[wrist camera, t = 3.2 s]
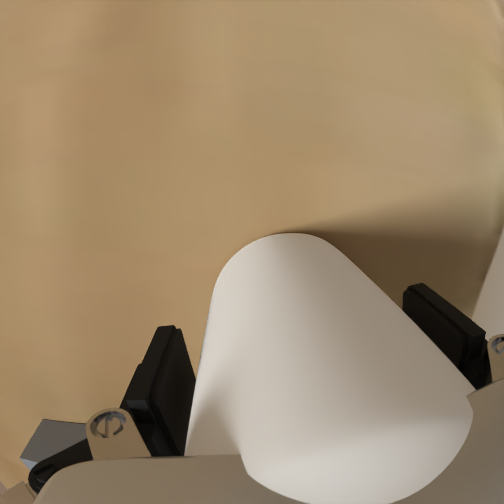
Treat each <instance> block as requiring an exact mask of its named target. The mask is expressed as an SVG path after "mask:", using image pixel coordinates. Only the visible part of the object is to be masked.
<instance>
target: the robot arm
mask: <svg viewBox="0 0 504 504" xmlns="http://www.w3.org/2000/svg"><path fill="white" fill-rule="evenodd" d="M402 311H403V312H404V313H405V314H406V315H407V316H408V317H409V318H410V319H411V320H412V321H413V322H414V323H415V324H416V325H417V326H418V327H419V328H420V329H421V330H422V331H423V332H424V333H425V334H426V335H427V336H428V337H429V338H430V340H431V341H432V342H433V343H434V344H435V345H436V346H437V347H438V348H439V349H440V350H441V351H442V352H443V353H444V354H445V356H446V357H447V358H448V359H449V360H450V361H451V362H452V363H453V364H454V365H455V366H456V368H457V369H458V370H459V371H460V372H461V373H462V374H463V376H464V377H465V378H466V379H467V380H468V381H469V382H470V384H471V385H472V386H473V387H474V388H475V389H476V390H475V391H473V392H471V393H470V394H468V395H467V396H466V397H467V399H468V401H469V403H470V405H471V408H472V410H473V420H472V424H471V427H470V431H469V433H468V435H467V437H466V440H465V442H464V444H463V445H462V447H461V449H460V450H459V452H458V453H457V455H456V456H455V458H454V459H453V460H452V462H451V463H450V464H449V465H448V466H447V467H446V468H445V470H444V471H443V472H442V473H440V474H439V475H438V476H437V477H436V478H435V479H434V480H433V481H432V482H430V483H429V484H428V485H427V486H425V487H424V488H422V489H421V490H419V491H417V492H416V493H414V494H412V495H410V496H408V497H406V498H403V499H401V500H398V501H396V502H393V503H389V504H504V334H500V335H496V336H493V337H492V338H490V339H489V341H487V340H486V339H485V334H486V332H485V331H484V330H483V329H482V328H480V327H479V326H478V325H477V324H476V323H474V322H473V321H472V320H471V319H469V318H468V317H467V316H466V315H464V314H463V313H462V312H460V311H459V310H458V309H457V308H455V307H454V306H453V305H451V304H450V303H449V302H448V301H446V300H445V299H444V298H442V297H441V296H440V295H438V294H437V293H436V292H434V291H433V290H432V289H430V288H429V287H428V286H426V285H425V284H423V283H420V284H415V285H411V286H408V288H407V290H406V291H404V293H403V309H402ZM195 384H196V378H195V375H194V372H193V368H192V365H191V362H190V358H189V355H188V352H187V348H186V345H185V341H184V338H183V334H182V331H181V329H180V328H179V329H176V327H175V326H174V325H170V326H160V327H158V328H157V330H156V332H155V334H154V337H153V339H152V341H151V343H150V345H149V348H148V350H147V352H146V354H145V357H144V359H143V361H142V363H141V364H139V365H138V366H137V368H136V371H135V373H134V375H133V377H132V380H131V382H130V384H129V386H128V389H127V391H126V393H125V396H124V398H123V400H122V403H121V405H120V407H119V408H108V409H104V410H101V411H99V412H97V413H96V414H94V415H93V416H92V417H91V418H90V419H89V420H88V422H87V424H86V427H85V428H86V435H87V438H86V439H84V440H82V441H80V442H78V443H76V444H74V445H72V446H70V447H68V448H66V449H64V450H62V451H60V452H58V453H56V454H54V455H52V456H50V457H48V458H46V459H44V460H42V461H40V462H39V463H37V464H36V465H35V466H34V467H33V468H32V469H31V471H30V473H29V477H28V481H29V482H28V483H26V484H25V483H24V482H23V481H21V482H20V483H18V484H16V485H15V486H13V487H12V488H10V489H8V490H7V491H5V492H4V493H2V494H0V504H309V503H305V502H301V501H298V500H295V499H292V498H289V497H286V496H284V495H281V494H279V493H277V492H275V491H272V490H270V489H268V488H267V487H265V486H263V485H262V484H260V483H258V482H257V481H255V480H254V479H253V478H252V477H251V476H250V475H248V474H247V471H246V469H245V466H244V464H243V461H242V458H241V454H220V455H199V456H184V454H185V447H186V440H187V434H188V427H189V421H190V415H191V408H192V402H193V396H194V390H195Z"/></svg>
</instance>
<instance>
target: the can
mask: <svg viewBox="0 0 504 504" xmlns="http://www.w3.org/2000/svg"><path fill="white" fill-rule="evenodd" d="M475 390H476V389H475V388H474V387H473V386H472V385H471V384H470V382H469V381H468V380H467V379H466V378H465V377H464V376H463V374H462V373H461V372H460V371H459V370H458V369H457V368H456V366H455V365H454V364H453V363H452V362H451V361H450V360H449V359H448V358H447V357H446V356H445V354H444V353H443V352H442V351H441V350H440V349H439V348H438V347H437V346H436V345H435V344H434V343H433V342H432V341H431V340H430V338H429V337H428V336H427V335H426V334H425V333H424V332H423V331H422V330H421V329H420V328H419V327H418V326H417V325H416V324H415V323H414V322H413V321H412V320H411V319H410V318H409V317H408V316H407V315H406V314H405V313H404V312H403V311H402V310H401V309H400V308H399V307H398V306H397V305H396V304H395V303H394V302H393V301H392V300H391V299H390V298H389V297H388V296H387V295H386V294H385V293H384V292H383V291H382V290H381V289H380V288H379V287H378V286H377V285H376V284H375V283H374V282H373V281H372V280H371V279H370V278H369V277H368V276H367V275H365V274H364V273H363V272H362V271H361V270H360V269H359V268H358V267H357V266H356V265H355V264H354V263H353V262H352V261H350V260H349V259H348V258H347V257H346V256H345V255H344V254H343V253H341V252H340V251H339V250H338V249H337V248H335V247H334V246H333V245H331V244H330V243H328V242H327V241H325V240H323V239H321V238H319V237H316V236H312V235H308V234H301V233H284V234H275V235H270V236H266V237H263V238H261V239H258V240H256V241H254V242H252V243H250V244H248V245H247V246H245V247H244V248H242V249H241V250H240V251H238V252H237V253H236V254H235V255H234V256H233V257H232V258H231V259H230V260H229V261H228V263H227V264H226V265H225V267H224V268H223V270H222V271H221V273H220V275H219V277H218V279H217V281H216V284H215V287H214V291H213V295H212V299H211V304H210V308H209V313H208V318H207V324H206V329H205V334H204V339H203V345H202V350H201V356H200V361H199V367H198V373H197V379H196V384H195V390H194V396H193V402H192V408H191V415H190V421H189V427H188V434H187V440H186V447H185V454H184V456H199V455H220V454H241V458H242V461H243V464H244V466H245V469H246V471H247V474H248V475H250V476H251V477H252V478H253V479H254V480H255V481H257V482H258V483H260V484H262V485H263V486H265V487H267V488H268V489H270V490H272V491H275V492H277V493H279V494H281V495H284V496H286V497H289V498H292V499H295V500H298V501H301V502H305V503H309V504H389V503H393V502H396V501H398V500H401V499H403V498H406V497H408V496H410V495H412V494H414V493H416V492H417V491H419V490H421V489H422V488H424V487H425V486H427V485H428V484H429V483H430V482H432V481H433V480H434V479H435V478H436V477H437V476H438V475H439V474H440V473H442V472H443V471H444V470H445V468H446V467H447V466H448V465H449V464H450V463H451V462H452V460H453V459H454V458H455V456H456V455H457V453H458V452H459V450H460V449H461V447H462V445H463V444H464V442H465V440H466V437H467V435H468V433H469V431H470V427H471V424H472V420H473V410H472V408H471V405H470V403H469V401H468V399H467V397H466V396H467V395H468V394H470V393H471V392H473V391H475Z"/></svg>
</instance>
